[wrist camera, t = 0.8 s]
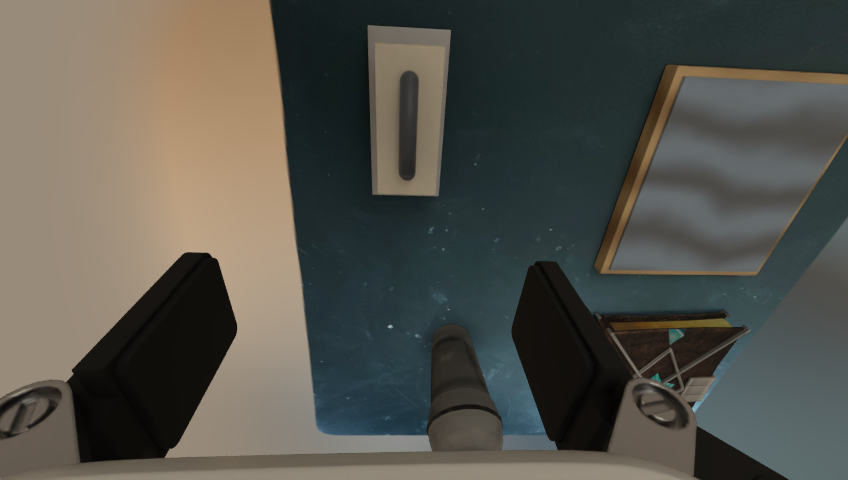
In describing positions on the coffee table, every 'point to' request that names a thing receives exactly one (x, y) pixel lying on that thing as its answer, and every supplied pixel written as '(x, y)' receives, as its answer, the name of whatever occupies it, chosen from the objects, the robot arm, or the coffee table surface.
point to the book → (673, 348)
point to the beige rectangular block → (407, 108)
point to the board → (723, 169)
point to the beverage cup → (460, 397)
